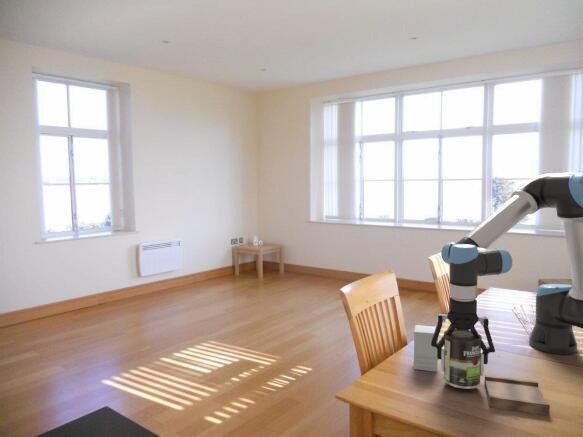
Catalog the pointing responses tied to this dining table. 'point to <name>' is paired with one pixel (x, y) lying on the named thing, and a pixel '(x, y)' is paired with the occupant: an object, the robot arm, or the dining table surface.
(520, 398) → the board
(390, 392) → the dining table surface
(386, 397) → the dining table surface
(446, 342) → the coffee can
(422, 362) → the supplement box
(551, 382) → the dining table surface
